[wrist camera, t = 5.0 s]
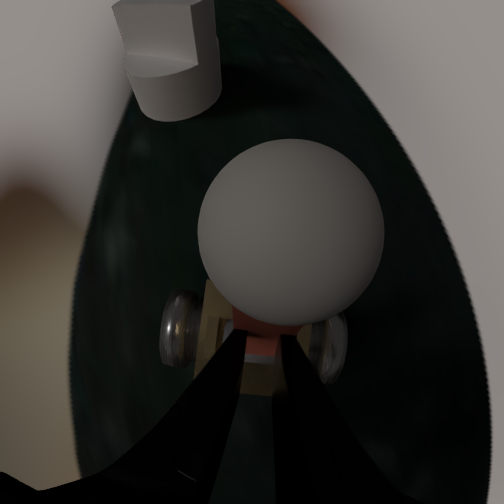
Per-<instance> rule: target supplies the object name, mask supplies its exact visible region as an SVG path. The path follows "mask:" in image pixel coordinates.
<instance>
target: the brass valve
mask: <svg viewBox="0 0 504 504" xmlns="http://www.w3.org/2000/svg"><path fill="white" fill-rule="evenodd" d="M227 319H233V313H232V304H231V303H230V302H228V301H227V300H226V299H225V297H224V296H223V295H222V294H221V293H220V292H219V291H218V290H217V288H216V287H215V285H214V284H213V282H212V281H211V280H207V282H206V289H205V296H204V301H199V300H198V295H197V292H196V291H190V290H183V289H177V288H176V289H174V290H173V291H172V292H171V294H170V296H169V298H168V300H167V303H166V306H165V309H164V313H163V317H162V323H161V330H160V354H161V359H162V361H163V363H164V364H165V365H170V366H174V367H179V368H186V367H187V366H188V364H189V362H190V361H196V363H195V372H194V379H195V378H196V376H197V375H198V374H199V373H200V371H201V370H202V369H203V368H204V366H205V365H206V364H207V362H208V361H209V360H210V359H211V357H212V356H213V355H214V353H215V352H216V351H217V350H218V348H219V347H220V346H221V344H222V343H223V336H224V329H225V324H226V320H227ZM295 337H296V339H297V341H298V342H299V344H300V346H301V347H302V349H303V351H304V352H305V354H306V356H307V357H308V359H309V361H310V362H311V364H312V366H313V367H314V369H315V371H316V372H317V374H318V376H319V377H320V379H321V381H322V383H323V384H332V383H334V382H336V380H337V379H338V377H339V376H340V374H341V371H342V369H343V365H344V362H345V357H346V351H347V340H348V332H347V322H346V318H345V315H344V312H343V311H341V312H339V313H338V314H336V315H334V316H333V317H330V318H328V319H326V320H323V321H320V322H316V323H312V324H308V325H304V326H303V327H302V328H301V329H300V330H299V332H298V333H297V334H296V335H295ZM273 374H274V365H270V364H260V363H251V362H244V367H243V374H242V381H241V388H240V393H243V394H252V395H262V396H272V386H273Z"/></svg>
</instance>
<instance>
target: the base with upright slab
mask: <svg viewBox="0 0 504 504" xmlns="http://www.w3.org/2000/svg"><path fill="white" fill-rule="evenodd" d="M112 9H113V12H114V15H115V18H116V21H117V24H118V27H119V30H120V33H121V36H122V39H123V42H124V44H125V47H126V50H127V55H126V56H125V58H124V63H123V65H124V69H125V71H126V74H127V76H128V79H129V81H130V84H131V86H132V89H133V91H134V94H135V96H136V98H137V101H138V103H139V106H140V108H141V110H142V112H143V113H144V114H145V115H146V116H148V117H150V118H152V119H154V120H159V121H178V120H183V119H188V118H190V117H193V116H196V115H198V114H200V113H202V112H203V111H205V110H207V109H208V108H210V107H211V106H212V105H213V104H214V103H215V102H216V101H217V99H218V98H219V96H220V95H221V90H222V79H221V67H220V54H219V42H218V38H217V37H216V25H215V11H214V0H120V1H119V2H117V3H115V4H114V5H113V6H112Z"/></svg>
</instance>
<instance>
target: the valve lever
mask: <svg viewBox="0 0 504 504" xmlns="http://www.w3.org/2000/svg"><path fill="white" fill-rule="evenodd" d="M198 242H199V249H200V254H201V258H202V261H203V264H204V267H205V269H206V271H207V273H208V275H209V277H210V279H211V281H212V282H213V284H214V285H215V287H216V288H217V290H218V291H219V292H220V293H221V294H222V295H223V296H224V297H225V299H226V300H227V301H228V302H230V303H231V304H232V313H233V319H227V320H226V324H225V329H224V336H223V342H224V341H225V339H226V338H227V337H228V335H229V334H230V333H231V331H232V330H233V329H241V330H247V331H248V335H247V343H246V352H245V360H244V362H251V363H260V364H270V365H274V362H275V352H276V347H277V343H278V339H279V336H280V335H281V334H285V335H294V336H295V335H296V334H297V333H298V332H299V330H300V329H301V328H302V327H303V326H304V325H308V324H312V323H316V322H320V321H323V320H326V319H328V318H330V317H333V316H334V315H336V314H338V313H339V312H341V311H343V310H344V309H346V308H347V307H348V306H350V305H351V304H352V303H353V302H354V301H356V299H357V298H358V297H359V296H360V295H361V294H362V293H363V291H364V290H365V289H366V288H367V287H368V285H369V283H370V282H371V280H372V278H373V276H374V274H375V272H376V270H377V268H378V265H379V263H380V259H381V255H382V250H383V245H384V222H383V215H382V211H381V207H380V204H379V201H378V198H377V196H376V193H375V191H374V190H373V188H372V186H371V184H370V183H369V181H368V179H367V178H366V177H365V175H364V174H363V173H362V172H361V171H360V169H359V168H358V167H357V166H356V165H354V164H353V163H352V162H351V161H350V160H349V159H348V158H346V157H345V156H344V155H342V154H341V153H339V152H337V151H336V150H334V149H332V148H330V147H327V146H325V145H322V144H319V143H316V142H312V141H307V140H300V139H282V140H275V141H269V142H265V143H262V144H259V145H257V146H254V147H252V148H250V149H248V150H246V151H244V152H242V153H241V154H239V155H238V156H236V157H235V158H234V159H233V160H231V161H230V162H229V163H228V164H227V165H226V166H225V167H224V168H223V169H222V170H221V171H220V172H219V174H218V175H217V176H216V178H215V179H214V180H213V182H212V183H211V185H210V187H209V189H208V191H207V193H206V195H205V198H204V200H203V203H202V206H201V210H200V216H199V222H198Z"/></svg>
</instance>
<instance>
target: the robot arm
mask: <svg viewBox="0 0 504 504" xmlns="http://www.w3.org/2000/svg"><path fill="white" fill-rule="evenodd" d="M247 335H248V331H247V330H241V329H233V330H232V331H231V333H230V334H229V335H228V337H227V338H226V339H225V341H224V342H223V343H222V344H221V346H220V347H219V348H218V350H217V351H216V352H215V353H214V355H213V356H212V357H211V359H210V360H209V361H208V362H207V364H206V365H205V366H204V368H203V369H202V370H201V371H200V373H199V374H198V375H197V376H196V378H195V379H194V380H193V381H192V383H191V384H190V385H189V386H188V388H187V389H186V390H185V391H184V393H183V394H182V395H181V396H180V398H179V399H178V400H177V401H176V404H174V405H173V406H172V407H171V409H170V410H169V411H168V412H167V413H166V415H165V416H164V417H163V418H162V419H161V420H160V421H159V422H158V424H157V425H156V426H155V427H154V428H153V429H152V430H151V431H149V432H148V433H147V434H146V435H145V436H144V437H143V438H142V439H141V440H140V441H139V442H137V443H136V444H135V445H134V446H133V447H132V448H131V449H129V450H128V451H127V452H126V453H125V454H124V455H122V456H121V457H120V458H119V459H118V460H116V461H115V462H114V463H113V464H111V465H110V466H109V467H107V468H106V469H104V470H102V471H100V472H98V473H96V474H94V475H91V476H88V477H85V478H82V479H79V480H76V481H73V482H70V483H67V484H63V485H60V486H57V487H53V488H50V489H46V490H40V491H38V490H35V489H34V488H32V487H30V486H28V485H26V484H24V483H22V482H20V481H19V480H17V479H15V478H13V477H12V476H10V475H8V474H6V473H4V472H0V504H208V503H209V500H210V496H211V493H212V490H213V486H214V483H215V480H216V476H217V473H218V470H219V466H220V463H221V459H222V456H223V452H224V449H225V446H226V442H227V438H228V435H229V431H230V428H231V424H232V421H233V417H234V414H235V410H236V406H237V403H238V399H239V394H240V388H241V381H242V374H243V367H244V360H245V352H246V343H247ZM272 418H273V440H274V463H275V489H276V504H425V503H423V502H420V501H418V500H416V499H414V498H412V497H409V496H407V495H406V494H404V493H402V492H401V491H400V490H398V489H397V488H396V487H395V486H394V485H393V484H392V483H391V482H390V480H389V479H388V478H387V477H386V476H385V474H384V473H383V472H382V471H381V469H380V468H379V467H378V466H377V465H376V463H375V462H374V461H373V460H372V458H371V457H370V456H369V455H368V453H367V452H366V451H365V449H364V448H363V447H362V445H361V444H360V443H359V441H358V440H357V438H356V437H355V435H354V434H353V432H352V431H351V429H350V427H349V426H348V424H347V422H346V421H345V420H343V416H342V414H341V413H340V411H339V409H338V408H337V406H336V404H335V403H334V401H333V399H332V398H331V396H330V394H329V393H328V391H327V389H326V388H325V386H324V384H323V383H322V381H321V379H320V377H319V376H318V374H317V372H316V371H315V369H314V367H313V366H312V364H311V362H310V361H309V359H308V357H307V356H306V354H305V352H304V351H303V349H302V347H301V346H300V344H299V342H298V341H297V339H296V337H295V336H294V335H285V334H281V335H280V336H279V339H278V343H277V347H276V352H275V362H274V374H273V386H272Z"/></svg>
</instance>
